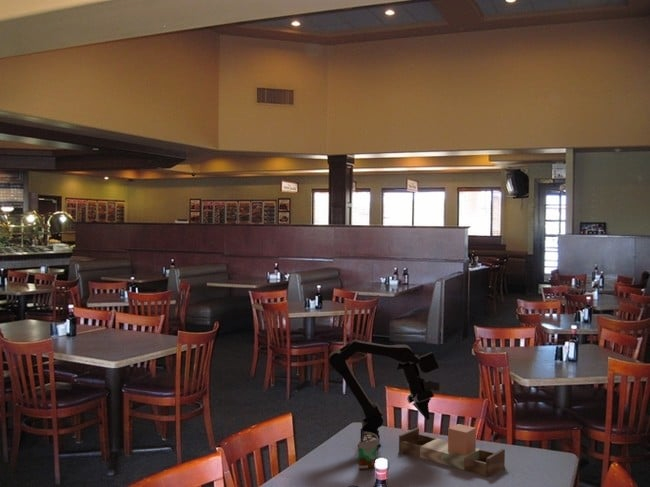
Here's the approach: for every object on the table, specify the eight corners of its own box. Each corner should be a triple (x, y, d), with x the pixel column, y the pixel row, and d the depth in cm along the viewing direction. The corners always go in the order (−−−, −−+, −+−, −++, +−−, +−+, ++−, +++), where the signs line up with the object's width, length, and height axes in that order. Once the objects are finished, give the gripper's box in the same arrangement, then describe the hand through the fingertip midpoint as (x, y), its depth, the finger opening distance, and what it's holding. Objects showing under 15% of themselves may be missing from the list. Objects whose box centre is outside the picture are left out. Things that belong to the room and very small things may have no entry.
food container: (376, 473, 214) (377, 443, 213) (358, 471, 215) (358, 442, 215) (380, 460, 226) (381, 432, 226) (363, 459, 227) (363, 431, 227)
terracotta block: (447, 451, 224) (448, 428, 224) (457, 445, 230) (458, 423, 230) (466, 455, 220) (466, 432, 220) (475, 450, 225) (475, 427, 225)
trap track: (398, 451, 235) (399, 435, 235) (416, 443, 244) (416, 427, 244) (488, 476, 212) (489, 458, 212) (504, 466, 221) (504, 449, 221)
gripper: (439, 369, 230) (455, 412, 227) (427, 373, 248) (442, 412, 245) (410, 379, 229) (425, 422, 225) (401, 382, 247) (415, 422, 243)
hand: (428, 419), depth 235 cm, fingers closed
